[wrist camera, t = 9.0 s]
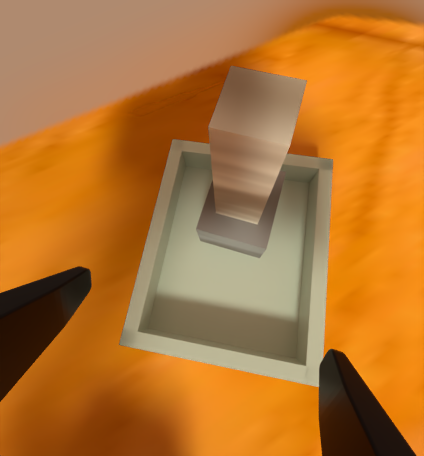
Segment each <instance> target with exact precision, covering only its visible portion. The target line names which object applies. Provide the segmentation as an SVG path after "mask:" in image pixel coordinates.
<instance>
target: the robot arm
mask: <svg viewBox="0 0 424 456" xmlns="http://www.w3.org/2000/svg"><path fill="white" fill-rule="evenodd" d="M90 289H91V272H90V270H89V269H87V268H84V267H80V266H79V267H75V268H72V269H69V270H67V271H64V272H61V273H58V274H55V275H52V276H49V277H46V278H43V279H40V280H37V281H34V282H31V283H28V284H25V285H22V286H20V287H17V288H14V289H11V290H8V291H5V292H2V293H0V402H1V400H2V399H3V398H4V397H5V396H6V395H7V393H8V392H9V391H10V390H11V389H12V388H13V386H14V385H15V384H16V383H17V382H18V380H19V379H20V378H21V377H22V376H23V375H24V373H25V372H26V371H27V370H28V369H29V368H30V366H31V365H32V364H33V363H34V362H35V361H36V359H37V358H38V357H39V356H40V355H41V354H42V352H43V351H44V350H45V349H46V348H47V347H48V345H49V344H50V343H51V342H52V341H53V340H54V338H55V337H56V336H57V335H58V334H59V333H60V331H61V330H62V329H63V328H64V327H65V325H66V324H67V323H68V321H69V320H70V318H71V317H72V316H73V314H74V313H75V311H76V310H77V308H78V307H79V306H80V304H81V303H82V301H83V300H84V298H85V297H86V296H87V294H88V293H89V291H90ZM319 427H320V437H321V448H322V456H416V454H415V453H414V452H413V450H412V449H411V447H410V446H409V444H408V443H407V442H406V440H405V439H404V437H403V436H402V435H401V433H400V432H399V430H398V429H397V427H396V426H395V425H394V423H393V422H392V420H391V419H390V418H389V416H388V415H387V413H386V412H385V410H384V409H383V408H382V406H381V405H380V403H379V402H378V401H377V399H376V398H375V396H374V395H373V393H372V392H371V391H370V389H369V388H368V386H367V385H366V384H365V382H364V381H363V379H362V378H361V376H360V375H359V374H358V372H357V371H356V369H355V368H354V367H353V365H352V364H351V362H350V361H349V359H348V358H347V357H346V355H345V354H344V353H343V352H341V351H337V350H334V349H330V350H329V351H328V352H327V353H326V355H325V357H324V358H323V360H322V361H321V363H320V366H319Z"/></svg>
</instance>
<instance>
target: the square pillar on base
mask: <svg viewBox="0 0 424 456" xmlns="http://www.w3.org/2000/svg"><path fill="white" fill-rule="evenodd" d="M306 82H307V80H302V79H297V78H292V77H286V76H281V75H276V74H271V73H266V72H261V71H256V70H251V69H245V68H240V67H235V66H231V67H230V70H229V72H228V75H227V78H226V80H225V83H224V86H223V89H222V91H221V94H220V97H219V99H218V102H217V105H216V107H215V110H214V113H213V116H212V118H211V121H210V124H209V126H208V131H209V142H210V153H211V164H212V175H213V180H212V183H211V186H210V189H209V192H208V194H207V197H206V200H205V203H204V206H203V209H202V212H201V215H200V218H199V221H198V224H197V227H196V231H197V233H198V236H199V239H200V241H202V242H205V243H209V244H212V245H216V246H219V247H223V248H226V249H229V250H233V251H236V252H240V253H243V254H246V255H250V256H253V257H257V258H260V257H261V256H262V254H263V253H264V252H265V250H266V249H267V245H268V241H269V237H270V233H271V229H272V225H273V222H274V218H275V214H276V210H277V206H278V202H279V198H280V194H281V190H282V186H283V182H284V178H285V174H286V172H284V171H280V169H281V167H282V164H283V162H284V159H285V157H286V155H287V152H288V150H289V147H290V144H291V140H292V137H293V133H294V129H295V125H296V121H297V117H298V113H299V109H300V105H301V102H302V98H303V94H304V90H305V86H306Z"/></svg>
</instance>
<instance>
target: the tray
mask: <svg viewBox="0 0 424 456" xmlns="http://www.w3.org/2000/svg"><path fill="white" fill-rule="evenodd" d="M332 169H333V159H326V158H318V157H310V156H302V155H295V154H287V155H286V157H285V159H284V162H283V164H282V167H281V169H280V171H284V172H286V174H285V178H284V182H283V186H282V190H281V194H280V198H279V202H278V206H277V210H276V214H275V218H274V222H273V225H272V229H271V233H270V237H269V241H268V245H267V249H266V250H265V252H264V253H263V254H262V256H261V257H260V258H257V257H253V256H250V255H246V254H243V253H240V252H236V251H233V250H229V249H226V248H223V247H219V246H216V245H212V244H209V243H205V242H202V241H200V239H199V236H198V233H197V231H196V227H197V224H198V221H199V218H200V215H201V212H202V209H203V206H204V203H205V200H206V197H207V194H208V192H209V189H210V186H211V183H212V180H213V175H212V164H211V153H210V144H208V143H200V142H192V141H184V140H177V139H173V140H172V144H171V148H170V151H169V155H168V159H167V163H166V167H165V171H164V174H163V178H162V182H161V186H160V190H159V194H158V197H157V201H156V205H155V209H154V213H153V217H152V220H151V224H150V228H149V232H148V236H147V240H146V243H145V247H144V251H143V255H142V259H141V263H140V266H139V270H138V274H137V278H136V282H135V286H134V289H133V293H132V297H131V301H130V305H129V309H128V312H127V316H126V320H125V324H124V328H123V332H122V335H121V339H120V343H119V345H122V346H127V347H132V348H137V349H141V350H146V351H151V352H156V353H160V354H165V355H170V356H175V357H179V358H184V359H189V360H193V361H198V362H203V363H208V364H212V365H217V366H222V367H227V368H231V369H236V370H241V371H246V372H250V373H255V374H260V375H264V376H269V377H274V378H279V379H283V380H288V381H293V382H298V383H302V384H307V385H312V386H317V387H319V366H320V363H321V361H322V360H323V350H324V330H325V310H326V290H327V270H328V250H329V230H330V210H331V189H332Z"/></svg>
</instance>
